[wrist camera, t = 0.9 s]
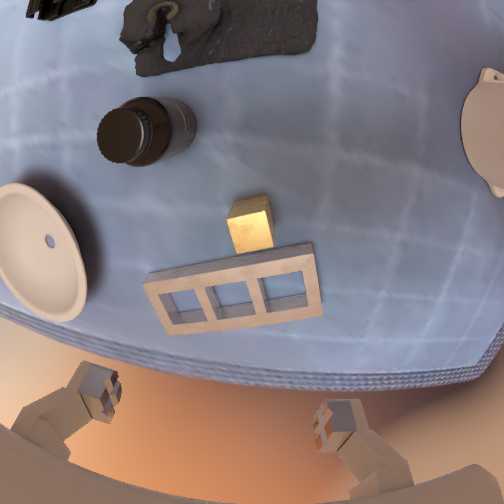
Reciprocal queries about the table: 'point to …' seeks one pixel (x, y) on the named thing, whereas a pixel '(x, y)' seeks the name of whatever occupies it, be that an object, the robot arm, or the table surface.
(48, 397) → the robot arm
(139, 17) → the dark slate chunk
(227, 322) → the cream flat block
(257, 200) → the golden yellow block
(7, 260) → the soup bowl
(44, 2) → the end cap
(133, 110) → the supplement bottle
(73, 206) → the table surface
